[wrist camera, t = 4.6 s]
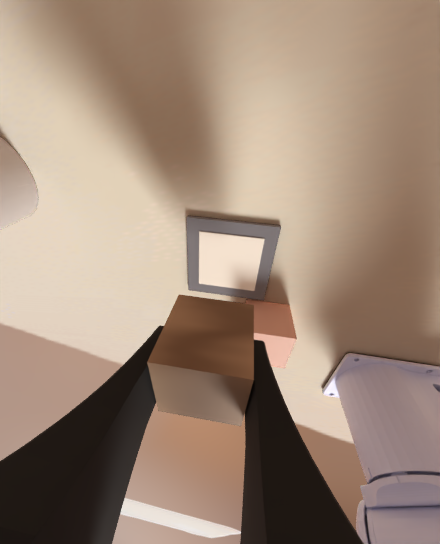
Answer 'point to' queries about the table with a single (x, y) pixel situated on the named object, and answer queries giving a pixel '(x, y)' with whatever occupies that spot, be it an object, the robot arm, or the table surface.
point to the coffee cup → (15, 187)
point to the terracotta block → (274, 330)
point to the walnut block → (205, 360)
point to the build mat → (230, 256)
